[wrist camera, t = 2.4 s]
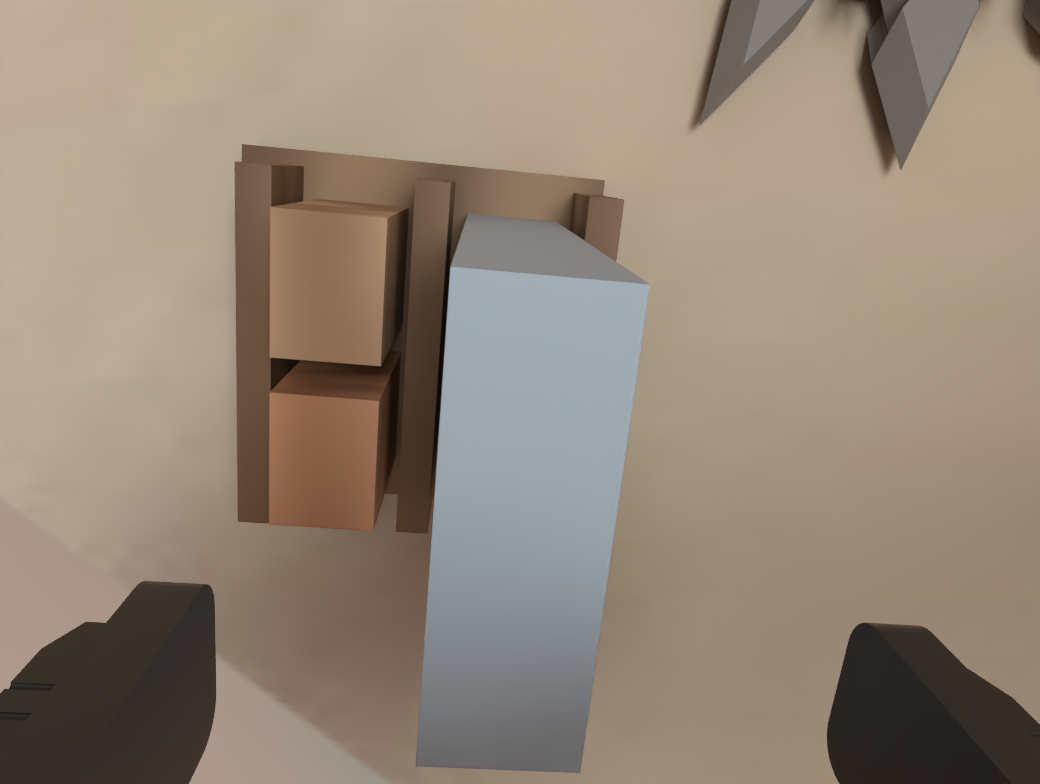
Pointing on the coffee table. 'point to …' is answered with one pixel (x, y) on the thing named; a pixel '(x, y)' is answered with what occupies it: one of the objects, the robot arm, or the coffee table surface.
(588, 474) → the tall board
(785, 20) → the decorative piece
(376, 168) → the rack
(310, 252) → the offcut
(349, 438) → the offcut
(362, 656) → the coffee table surface
